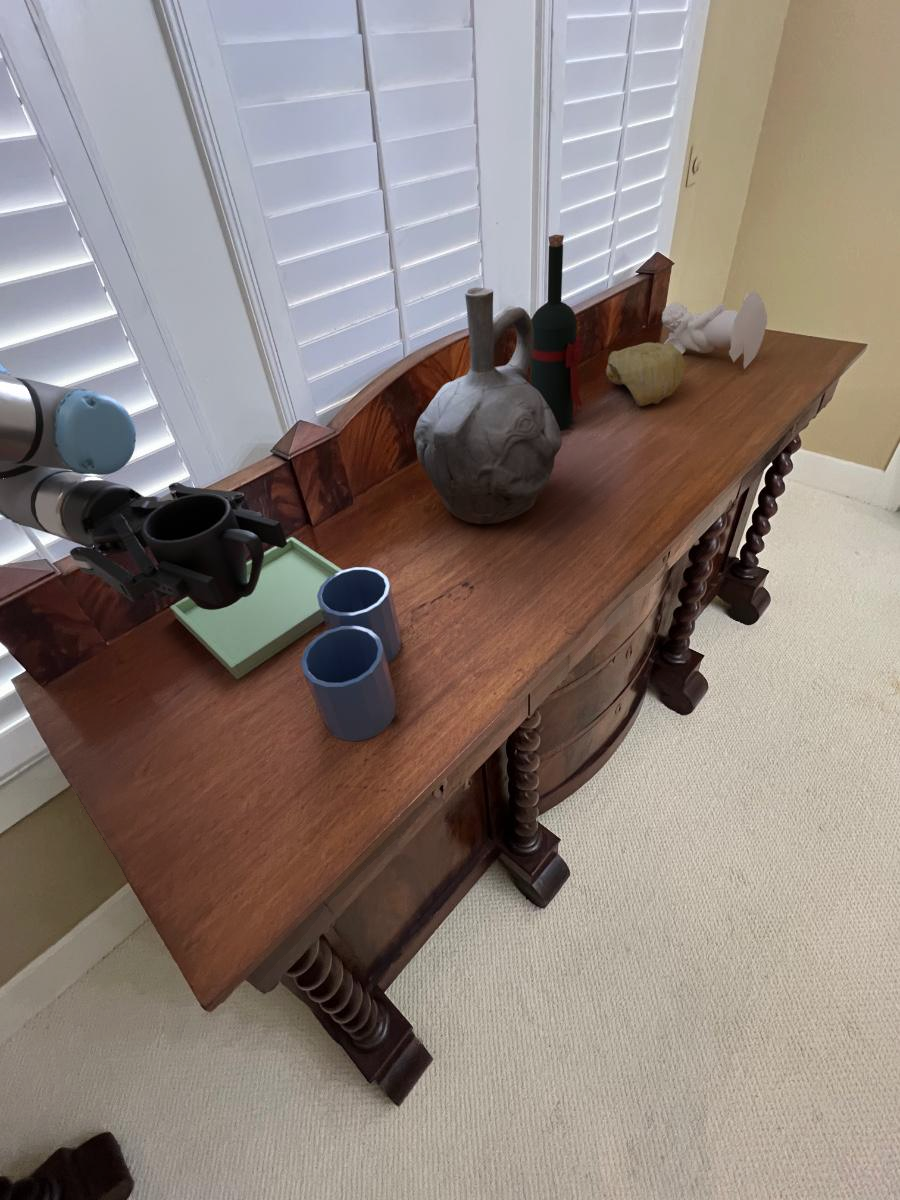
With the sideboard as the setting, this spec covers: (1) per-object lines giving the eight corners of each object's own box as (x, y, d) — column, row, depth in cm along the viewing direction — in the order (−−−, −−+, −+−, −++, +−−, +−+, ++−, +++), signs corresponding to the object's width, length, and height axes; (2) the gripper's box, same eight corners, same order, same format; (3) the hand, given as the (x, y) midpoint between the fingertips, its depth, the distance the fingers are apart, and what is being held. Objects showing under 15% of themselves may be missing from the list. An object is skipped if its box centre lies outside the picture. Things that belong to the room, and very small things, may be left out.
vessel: (447, 454, 103) (426, 264, 83) (572, 462, 97) (583, 260, 77) (399, 536, 86) (359, 323, 66) (547, 552, 80) (553, 323, 60)
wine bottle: (564, 440, 103) (573, 246, 83) (520, 424, 109) (519, 239, 89) (591, 423, 107) (606, 233, 86) (548, 409, 112) (552, 228, 92)
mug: (253, 638, 55) (217, 560, 49) (164, 607, 60) (121, 532, 54) (305, 585, 61) (279, 508, 54) (219, 560, 65) (186, 486, 59)
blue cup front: (330, 751, 60) (308, 697, 54) (317, 694, 66) (296, 639, 59) (405, 726, 61) (391, 670, 55) (386, 672, 67) (371, 616, 61)
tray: (237, 679, 68) (231, 668, 67) (176, 618, 77) (169, 606, 76) (364, 593, 77) (360, 581, 76) (295, 547, 87) (292, 536, 85)
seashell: (688, 400, 115) (629, 366, 122) (711, 348, 106) (645, 314, 113) (635, 431, 108) (575, 393, 114) (654, 378, 99) (588, 340, 106)
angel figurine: (655, 372, 132) (679, 321, 131) (744, 381, 119) (771, 325, 118) (633, 337, 121) (658, 282, 121) (728, 344, 108) (757, 282, 108)
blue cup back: (341, 679, 67) (322, 623, 61) (331, 632, 73) (313, 577, 67) (408, 659, 68) (396, 603, 62) (393, 615, 74) (381, 560, 68)
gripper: (182, 492, 72) (327, 531, 63) (26, 599, 59) (181, 667, 50) (155, 437, 67) (309, 470, 58) (-20, 540, 54) (142, 604, 45)
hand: (250, 562), depth 54 cm, fingers closed on mug, 8 cm apart
